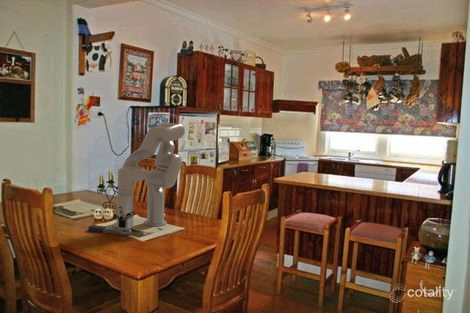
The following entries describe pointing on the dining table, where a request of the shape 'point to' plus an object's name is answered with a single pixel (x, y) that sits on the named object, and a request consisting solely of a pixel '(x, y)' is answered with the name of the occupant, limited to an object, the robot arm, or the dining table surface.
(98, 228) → the ratchet
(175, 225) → the dining table surface
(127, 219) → the socket
